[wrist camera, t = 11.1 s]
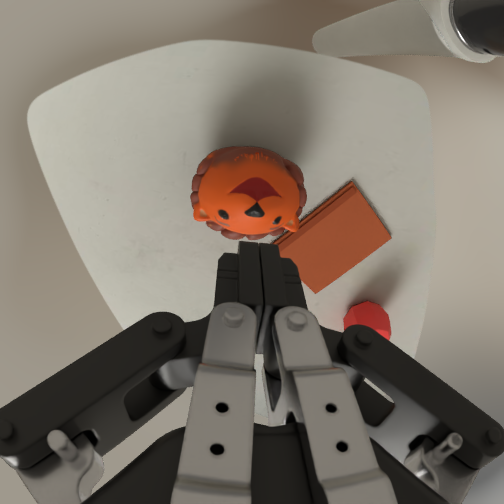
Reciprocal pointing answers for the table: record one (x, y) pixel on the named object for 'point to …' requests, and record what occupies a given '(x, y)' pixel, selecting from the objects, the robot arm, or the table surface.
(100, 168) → the table surface
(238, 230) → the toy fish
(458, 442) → the robot arm
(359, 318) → the apple
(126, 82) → the table surface
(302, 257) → the book
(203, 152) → the table surface
